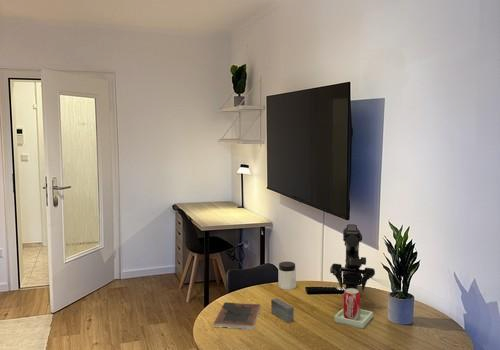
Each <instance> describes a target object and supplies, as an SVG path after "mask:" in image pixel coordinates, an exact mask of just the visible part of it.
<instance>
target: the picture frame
mask: <svg viewBox="0 0 500 350" xmlns="http://www.w3.org/2000/svg"><path fill="white" fill-rule="evenodd" d="M259 310H261V304H259V303H239V302H225V301H224V303H223V304H222V307H221V309H220V311H219V313H218V314H217V316H216V317H215V320H214V321H213V324H212V325H213V326H222V327H231V328H241V329H240V330H248V329H249V330H251V331H253V330H254V329H255V328H254V327H255V325H256V323H257V322H256V321H257V319H258V316H259V312H260V311H259ZM231 328H230V329H231ZM249 330H248V331H249Z"/></svg>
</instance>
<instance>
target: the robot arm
mask: <svg viewBox="0 0 500 350" xmlns="http://www.w3.org/2000/svg"><path fill="white" fill-rule="evenodd" d="M357 227H358V225H356V224H346V227H345V228H344V229H343V233H342V234H343V235H342V236H343V237H342V240H343V242H344V246H345V261H344V262H345V265H344V266H342V264H341V263H332V264H331V266H330V268H329V270H330V271H329V273H330V274H332V275H333V276H335V278H336V281H337V282H338V285H339V287H340V289H343V287H345V289H348V288H354V289H357V290H358V291H359V289H358V288H359V286H361V292H364V290H365V287H366V284H367V282H368V281H369V280H370V279H372V278H373V277H374V276H375V275H376V273H375V272H376V271H375V268H371V267H365V268H364V269H361V267H362V265H364V266H366V265H367V257H363V256H361V257H360V255H359V253H360V252H359V250H360V249H359V248H360V243H361V242H362V241H363V234H362V233H361V231H360V230H359V229H358V228H357ZM343 285H345V286H343Z"/></svg>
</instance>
